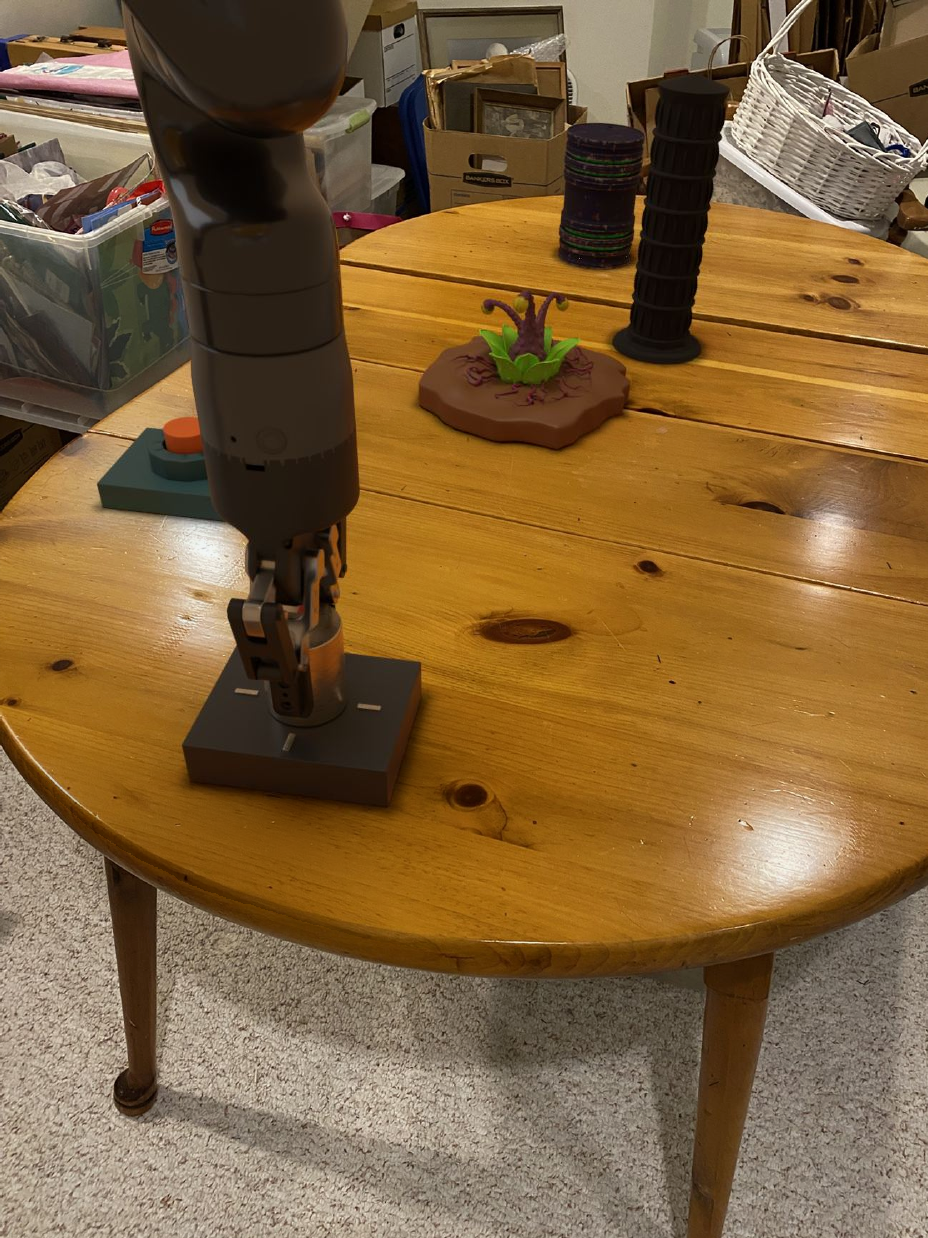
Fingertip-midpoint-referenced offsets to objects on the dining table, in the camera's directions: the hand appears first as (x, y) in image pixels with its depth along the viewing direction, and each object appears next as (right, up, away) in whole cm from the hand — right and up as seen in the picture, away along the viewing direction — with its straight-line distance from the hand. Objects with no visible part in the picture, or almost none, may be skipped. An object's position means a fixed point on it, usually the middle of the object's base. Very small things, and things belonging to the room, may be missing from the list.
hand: (307, 681), depth 61 cm
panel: (0, -3, +3) cm, 5 cm away
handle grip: (+28, +38, +53) cm, 71 cm away
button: (-14, +19, +23) cm, 33 cm away
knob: (0, -1, +1) cm, 2 cm away
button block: (-15, +17, +25) cm, 34 cm away
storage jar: (+23, +57, +75) cm, 97 cm away
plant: (+13, +28, +41) cm, 52 cm away
